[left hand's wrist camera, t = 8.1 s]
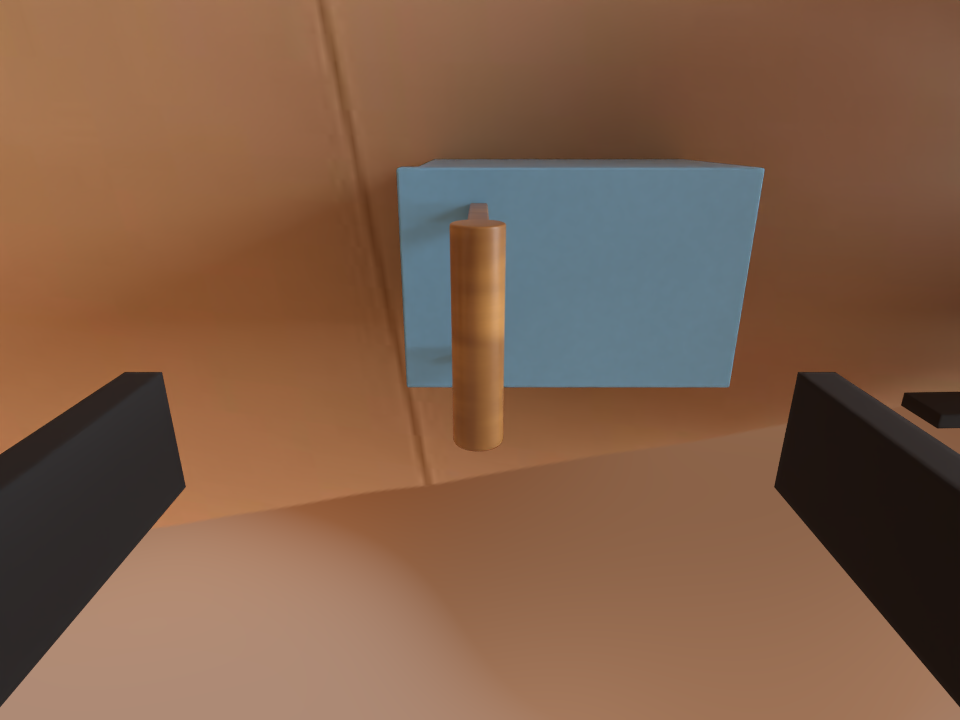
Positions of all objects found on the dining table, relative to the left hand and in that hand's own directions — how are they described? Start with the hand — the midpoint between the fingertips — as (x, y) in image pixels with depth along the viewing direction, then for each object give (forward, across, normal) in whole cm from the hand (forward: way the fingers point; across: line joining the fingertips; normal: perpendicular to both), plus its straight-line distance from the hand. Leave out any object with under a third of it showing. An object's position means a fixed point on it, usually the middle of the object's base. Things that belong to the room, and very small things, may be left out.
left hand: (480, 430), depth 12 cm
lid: (+14, +4, 0) cm, 14 cm away
